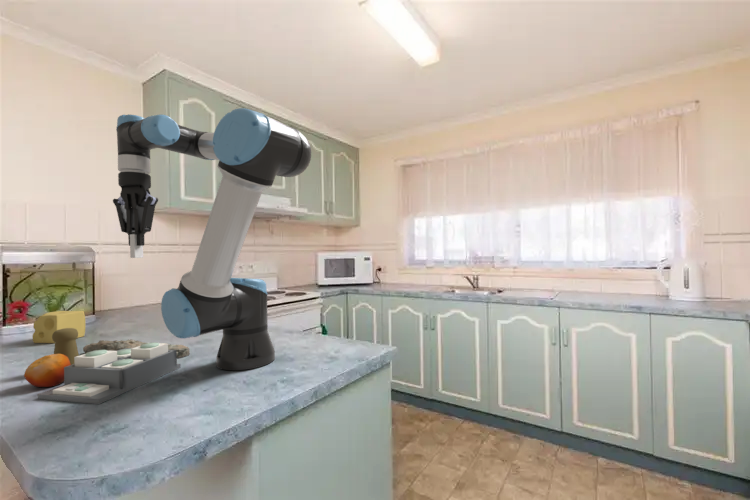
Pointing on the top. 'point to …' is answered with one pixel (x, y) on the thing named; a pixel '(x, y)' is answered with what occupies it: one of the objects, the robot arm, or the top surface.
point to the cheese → (58, 324)
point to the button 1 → (95, 358)
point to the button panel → (109, 379)
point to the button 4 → (149, 350)
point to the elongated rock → (131, 346)
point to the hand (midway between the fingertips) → (136, 257)
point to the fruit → (47, 370)
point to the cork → (66, 343)
